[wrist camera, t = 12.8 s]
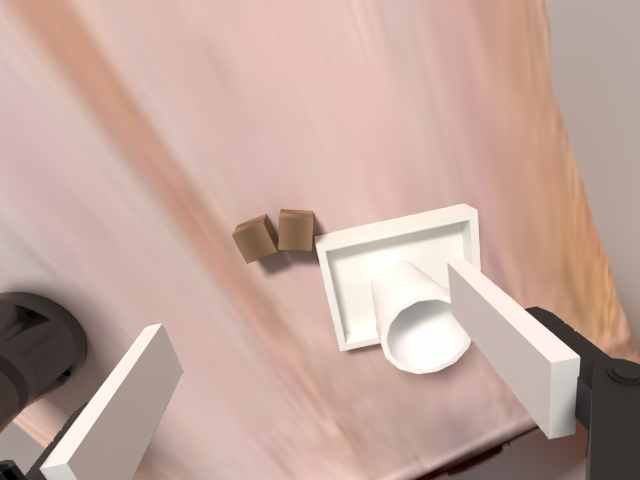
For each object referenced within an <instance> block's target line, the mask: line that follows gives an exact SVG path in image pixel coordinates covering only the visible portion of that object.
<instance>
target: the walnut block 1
mask: <svg viewBox="0 0 640 480" xmlns="http://www.w3.org/2000/svg"><path fill="white" fill-rule="evenodd" d="M232 236H233V238H234V240H235V242H236V244H237V246H238V248H239V250H240V252H241V253H242V255H243V257H244V259H245V261H246V263H247V264H248V263H251V262H253V261H256V260H258V259H261V258H263V257H266V256H268V255H271V254H273V253H276V252H277V250H278V244H279V240H278V238H277V235H276V233H275V231H274V229H273V227H272V225H271V223H270V221H269V219H268V217H267V214H265V215H262V216H260V217H257V218H255V219H252V220H250V221H248V222H245V223H243V224H240V225H238V226H237V228H236V229H235V231H234V233H233V234H232Z"/></svg>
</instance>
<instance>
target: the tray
mask: <svg viewBox="0 0 640 480" xmlns="http://www.w3.org/2000/svg"><path fill="white" fill-rule="evenodd" d="M315 245H316V249H317V254H318V258H319V262H320V267H321V271H322V275H323V280H324V284H325V288H326V293H327V297H328V301H329V305H330V310H331V314H332V318H333V323H334V327H335V331H336V336H337V340H338V344H339V349H340V351H345V350H349V349H354V348H359V347H364V346H368V345H373V344H378V343H380V340H379V337H378V334H377V331H376V323H377V322H376V315H375V308H374V301H373V294H372V287H371V277H372V272H373V270H374V269H375V268H376V266H377V265H378V264H379V263H380V262H382V261H384V260H385V259H387V258H393V257H400V258H403V259H406V260H408V261H410V262H411V263H413V264H414V265H415V266H417V267H418V268H419V269H420V270H422V271H423V272H424V273H426V274H427V275H428V276H430V277H431V278H432V279H433V280H435V281H436V282H437V283H439V284H440V285H441V286H443V287H446V288H448V289H449V290H450V287H449V276H448V265H447V262H450V261H455V260H460V259H465V260H467V261H468V262H469V263H470V264H471V265H472V266H474V267H475V268H476V269H477V270H478V271H480V272H481V266H480V247H479V228H478V210H476V209H474V208H472V207H470V206H468V205H466V204H460V205H455V206H451V207H446V208H441V209H437V210H432V211H428V212H423V213H418V214H414V215H409V216H405V217H400V218H396V219H391V220H386V221H382V222H377V223H373V224H368V225H363V226H359V227H354V228H350V229H345V230H341V231H336V232H331V233H327V234H322V235H318V236H315Z"/></svg>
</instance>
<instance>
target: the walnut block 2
mask: <svg viewBox="0 0 640 480" xmlns="http://www.w3.org/2000/svg"><path fill="white" fill-rule="evenodd" d="M313 220H314V219H313V211H304V210H284V209H281V212H280V217H279V247H278V250H299V251H312V236H313Z"/></svg>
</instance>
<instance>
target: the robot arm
mask: <svg viewBox="0 0 640 480" xmlns="http://www.w3.org/2000/svg"><path fill="white" fill-rule="evenodd" d="M447 265H448V276H449V287H450V298H451V310H452V315H453V316H454V318H455V319H456V320H457V322H458V323H459V324H460V325H461V327H462V328H463V329H464V331H465V332H466V333H467V334H468V336H469V337H470V338H471V340H472V341H473V342H474V343H475V345H476V346H477V347H478V349H479V350H480V351H481V352H482V354H483V355H484V356H485V358H486V359H487V360H488V361H489V363H490V364H491V365H492V367H493V368H494V369H495V370H496V372H497V373H498V374H499V376H500V377H501V378H502V379H503V381H504V382H505V383H506V385H507V386H508V387H509V388H510V390H511V391H512V392H513V394H514V395H515V396H516V397H517V399H518V400H519V401H520V403H521V404H522V405H523V406H524V408H525V409H526V410H527V412H528V413H529V414H530V415H531V417H532V418H533V419H534V421H535V422H536V423H537V424H538V426H539V427H540V428H541V430H542V431H543V432H544V433H545V435H546V436H547V437H548V439H551V438H557V437H562V436H567V435H572V434H575V430H576V418H577V419H578V420H579V421H580V422H581V423H582V425H583V426H584V427H585V428H586V429H587V430H588V435H587V447H586V448H587V449H586V480H640V364H638V363H635V362H631V361H628V360H625V359H616V358H611V357H609V356H608V355H607V354H605V353H604V352H603V351H601V350H600V349H599V348H598V347H596V346H595V345H594V344H592V343H591V342H590V341H588V340H587V339H586V338H585V337H583V336H582V335H581V334H579V333H578V332H577V331H574V329H573V328H571V327H570V326H569V325H568V324H565V323H564V321H562V320H561V319H560V318H558V317H557V316H556V315H554V314H553V313H551V312H549V311H547V310H544V309H542V308H539V307H537V306H536V307H532V308H527V309H523V308H522V307H521V306H520V305H518V304H517V303H516V302H515V301H514V300H513V299H511V298H510V297H509V296H508V295H507V294H505V293H504V292H503V291H502V290H501V289H500V288H498V287H497V286H496V285H495V284H494V283H492V282H491V281H490V280H489V279H488V278H487V277H485V276H484V275H483V274H482V273H481V272H480V271H478V270H477V269H476V268H475V267H474V266H472V265H471V264H470V263H469V262H468V261H467V260H465V259H460V260H455V261H450V262H447ZM86 354H87V342H86V338H85V335H84V332H83V330H82V328H81V327H80V325H79V324H78V322H77V321H76V320H75V319H74V317H73V316H72V315H71V314H70V313H68V312H67V311H66V310H65V309H64V308H62V307H61V306H59V305H58V304H56V303H54V302H52V301H50V300H48V299H46V298H43V297H41V296H38V295H34V294H29V293H22V292H8V293H2V294H0V433H1V432H2V431H3V430H4V429H5V428H6V427H7V426H8V425H9V424H10V423H11V422H12V421H13V420H14V418H15V417H16V416H17V415H18V414H19V413H20V412H21V411H22V410H23V409H24V408H26V407H28V406H29V405H31V404H33V403H34V402H36V401H38V400H39V399H41V398H43V397H45V396H46V395H48V394H50V393H51V392H53V391H55V390H56V389H58V388H60V387H61V386H63V385H64V384H65V383H67V382H68V381H69V380H70V379H71V378H72V377H73V376H74V375H75V373H76V372H77V371H78V370H79V369H80V368H81V366H82V365H83V363H84V361H85V358H86ZM182 373H183V369H182V367H181V365H180V363H179V360H178V358H177V356H176V353H175V351H174V349H173V347H172V344H171V342H170V340H169V337H168V335H167V333H166V331H165V328H164V326H163V324H162V323H161V324H157V325H152V326H147V327H146V328H145V329H144V330H143V332H142V333H141V334H140V336H139V337H138V338H137V340H136V341H135V342H134V343H133V345H132V346H131V347H130V349H129V350H128V351H127V353H126V354H125V355H124V357H123V358H122V359H121V361H120V362H119V363H118V365H117V366H116V367H115V369H114V370H113V371H112V373H111V374H110V375H109V377H108V378H107V379H106V381H105V382H104V383H103V385H102V386H101V387H100V389H99V390H98V391H97V393H96V394H95V395H94V397H93V398H92V399H91V401H90V402H86V403H85V404H84V405H83V406H82V407H81V408H79V409H78V410H77V411H76V412H75V413H74V414H73V415H72V416H71V417H70V418H69V420H68V421H67V422H66V423H65V425H64V426H63V427H62V430H61V431H59V432H58V434H57V435H56V436H55V438H54V441H53V442H51V443H50V444H49V445H48V447H47V448H46V449H45V450H44V452H43V453H42V454H41V456H40V457H39V459H38V460H37V461H36V462H35V463H34V465H33V466H32V467H31V469H30V470H29V471H28V472H27V474H26V475H25V476H24V474H23V473H22V472H21V470H20V469H19V468H18V466H17V465H16V463H15V462H14V461H13V460H4V461H1V462H0V480H132V479H133V477H134V475H135V473H136V471H137V468H138V466H139V464H140V462H141V460H142V458H143V456H144V454H145V451H146V449H147V447H148V445H149V443H150V441H151V439H152V437H153V434H154V432H155V430H156V428H157V426H158V424H159V422H160V420H161V417H162V415H163V413H164V411H165V409H166V407H167V405H168V403H169V400H170V398H171V396H172V394H173V392H174V390H175V388H176V386H177V383H178V381H179V379H180V377H181V375H182Z"/></svg>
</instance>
